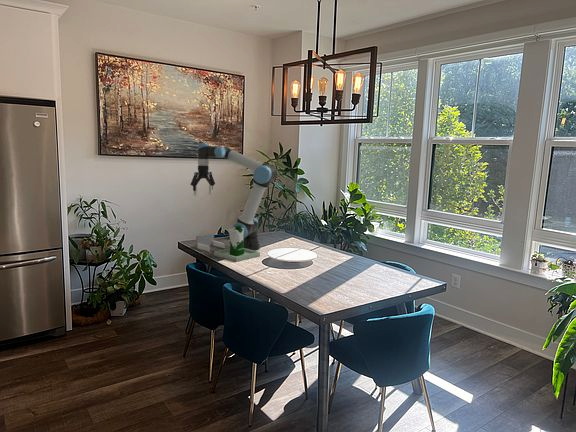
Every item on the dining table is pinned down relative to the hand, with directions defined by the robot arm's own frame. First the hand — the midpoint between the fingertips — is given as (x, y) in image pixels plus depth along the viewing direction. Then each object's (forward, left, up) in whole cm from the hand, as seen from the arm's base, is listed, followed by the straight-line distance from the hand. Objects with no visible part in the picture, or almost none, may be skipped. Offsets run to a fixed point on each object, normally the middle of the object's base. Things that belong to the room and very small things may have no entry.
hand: (203, 195), depth 301 cm
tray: (-34, -2, -39) cm, 52 cm away
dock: (-5, -4, -39) cm, 39 cm away
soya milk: (-34, -2, -38) cm, 51 cm away
